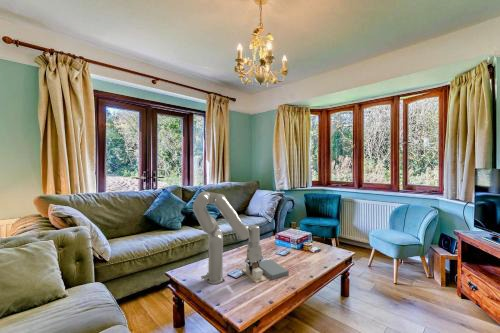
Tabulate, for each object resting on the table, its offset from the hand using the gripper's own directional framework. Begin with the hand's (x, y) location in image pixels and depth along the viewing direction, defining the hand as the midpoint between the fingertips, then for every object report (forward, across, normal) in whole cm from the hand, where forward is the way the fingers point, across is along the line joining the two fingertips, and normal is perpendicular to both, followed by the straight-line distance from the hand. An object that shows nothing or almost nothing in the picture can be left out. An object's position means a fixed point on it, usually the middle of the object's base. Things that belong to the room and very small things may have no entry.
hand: (254, 269), depth 159 cm
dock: (+5, +15, 0) cm, 16 cm away
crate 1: (+3, 0, +5) cm, 6 cm away
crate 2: (+3, 0, -4) cm, 5 cm away
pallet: (+5, 0, 0) cm, 5 cm away
